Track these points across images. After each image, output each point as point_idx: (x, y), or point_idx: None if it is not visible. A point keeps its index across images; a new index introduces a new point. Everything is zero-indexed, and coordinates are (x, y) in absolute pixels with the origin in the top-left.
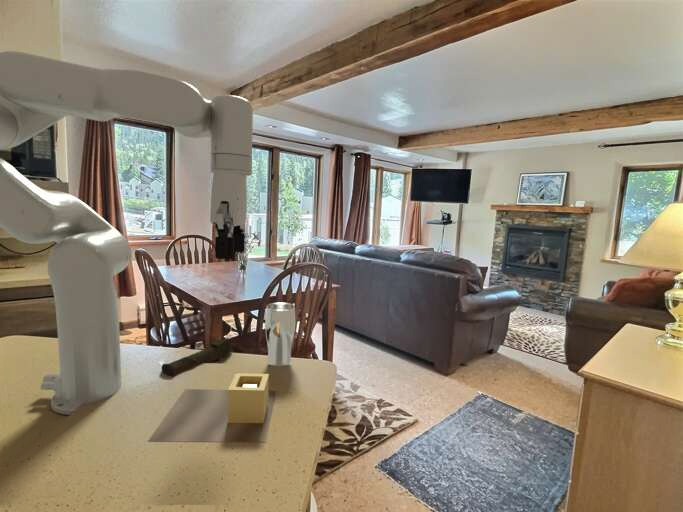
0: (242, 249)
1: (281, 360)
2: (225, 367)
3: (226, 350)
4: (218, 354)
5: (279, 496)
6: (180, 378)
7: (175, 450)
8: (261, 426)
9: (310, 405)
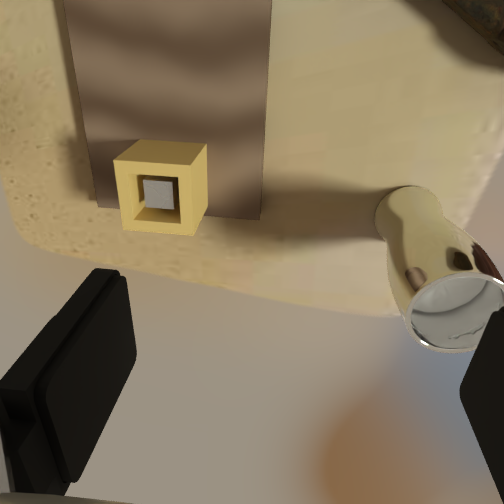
0: (464, 402)
1: (383, 234)
2: (432, 74)
3: None
4: (494, 42)
5: (27, 222)
6: None
7: None
8: None
9: (233, 269)
